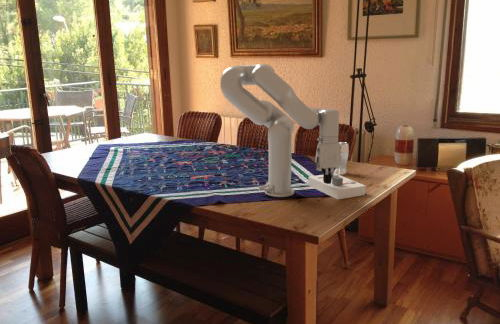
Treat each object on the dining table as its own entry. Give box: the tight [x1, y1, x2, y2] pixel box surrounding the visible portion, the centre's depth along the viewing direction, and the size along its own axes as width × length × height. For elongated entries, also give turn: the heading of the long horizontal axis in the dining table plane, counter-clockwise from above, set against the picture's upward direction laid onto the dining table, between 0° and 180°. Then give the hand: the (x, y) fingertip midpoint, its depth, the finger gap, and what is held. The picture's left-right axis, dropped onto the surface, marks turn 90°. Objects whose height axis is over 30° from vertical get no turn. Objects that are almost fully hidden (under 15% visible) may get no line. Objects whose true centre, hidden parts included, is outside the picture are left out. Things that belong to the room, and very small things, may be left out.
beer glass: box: [334, 141, 350, 176], centre depth 222 cm, size 7×7×15 cm
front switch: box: [332, 177, 343, 186], centre depth 191 cm, size 3×3×3 cm
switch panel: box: [307, 173, 367, 200], centre depth 198 cm, size 14×22×4 cm, turn 26°
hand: (327, 182), depth 189 cm, fingers closed
